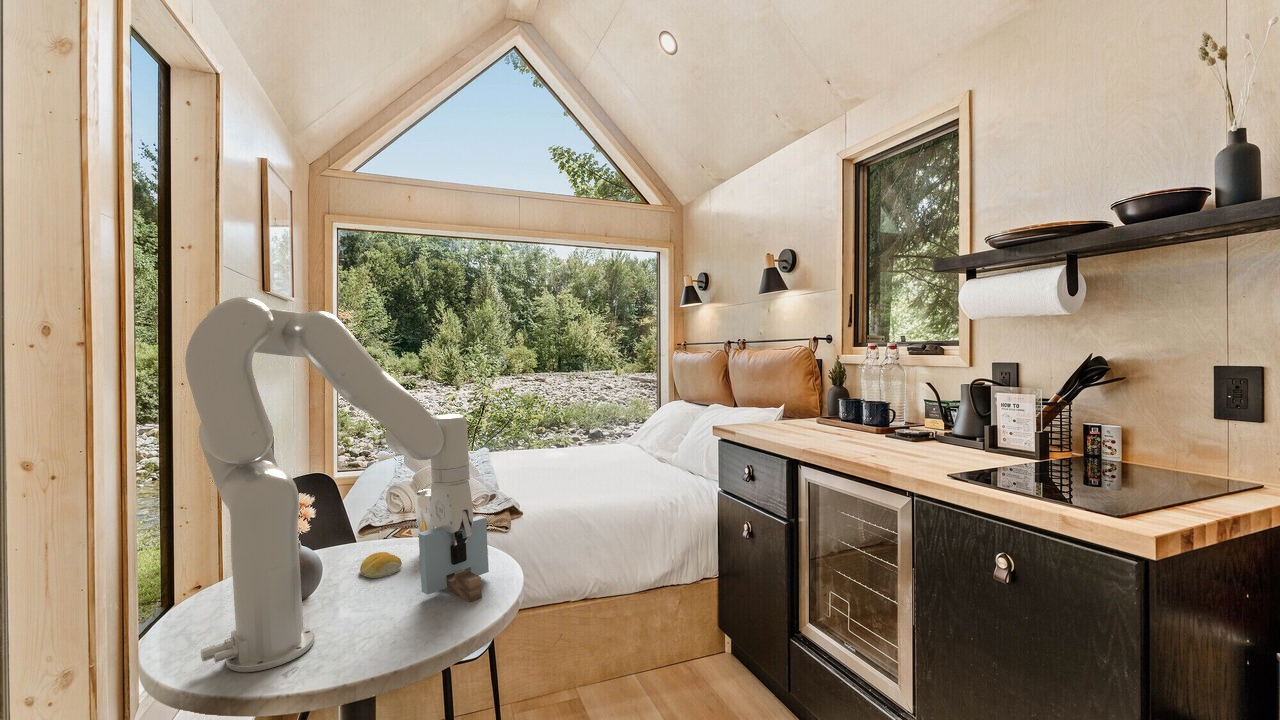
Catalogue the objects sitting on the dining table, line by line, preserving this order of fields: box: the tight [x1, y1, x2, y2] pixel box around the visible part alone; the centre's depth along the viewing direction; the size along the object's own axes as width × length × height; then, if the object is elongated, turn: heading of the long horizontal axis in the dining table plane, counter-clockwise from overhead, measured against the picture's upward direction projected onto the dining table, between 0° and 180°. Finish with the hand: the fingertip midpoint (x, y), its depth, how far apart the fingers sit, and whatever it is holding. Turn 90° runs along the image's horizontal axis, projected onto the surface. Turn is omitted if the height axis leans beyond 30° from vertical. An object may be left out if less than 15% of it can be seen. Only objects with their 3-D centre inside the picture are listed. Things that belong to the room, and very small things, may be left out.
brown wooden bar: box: [445, 569, 483, 603], centre depth 120 cm, size 16×3×4 cm, turn 47°
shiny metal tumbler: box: [414, 488, 436, 555], centre depth 141 cm, size 7×7×15 cm
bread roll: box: [359, 551, 403, 579], centre depth 131 cm, size 8×9×4 cm
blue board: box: [418, 515, 490, 595], centre depth 120 cm, size 14×2×12 cm, turn 137°
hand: (455, 560), depth 120 cm, fingers closed on blue board, 2 cm apart
